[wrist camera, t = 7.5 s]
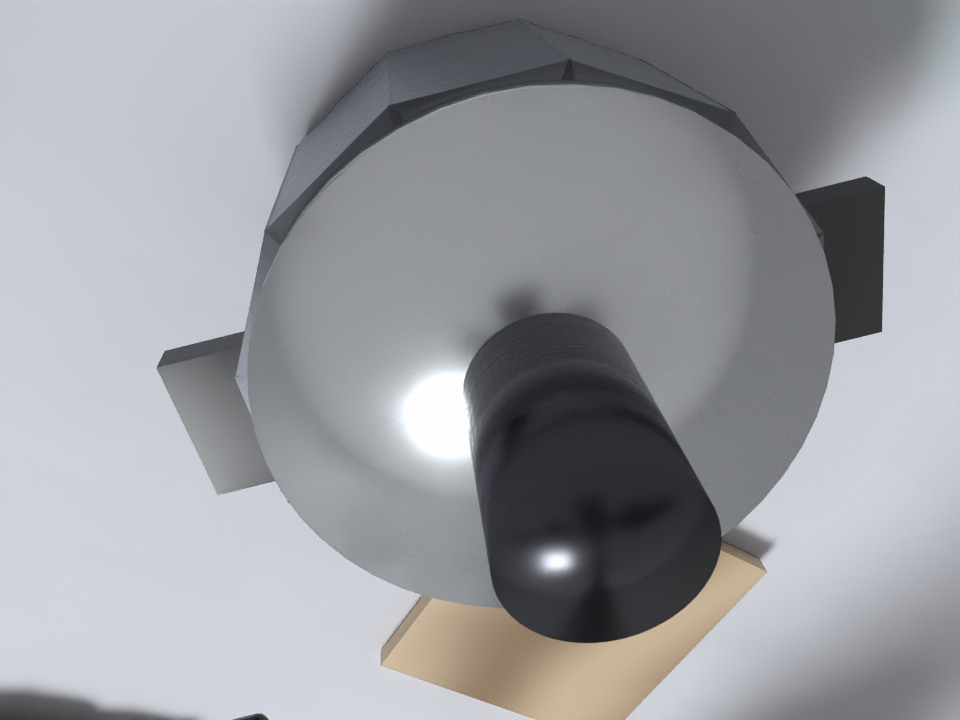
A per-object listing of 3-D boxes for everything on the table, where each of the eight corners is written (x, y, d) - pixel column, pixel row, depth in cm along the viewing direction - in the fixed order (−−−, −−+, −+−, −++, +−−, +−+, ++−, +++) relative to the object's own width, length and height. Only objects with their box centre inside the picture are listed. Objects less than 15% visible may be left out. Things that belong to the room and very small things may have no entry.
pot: (768, -47, 18) (926, -32, 13) (787, 373, 23) (903, 505, 18) (138, 113, 18) (40, 192, 13) (298, 493, 24) (274, 658, 18)
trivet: (759, 559, 27) (766, 572, 26) (598, 727, 30) (602, 742, 29) (533, 450, 24) (536, 462, 23) (380, 650, 27) (380, 665, 26)
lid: (906, 258, 16) (1159, 423, 11) (593, 615, 20) (668, 866, 15) (442, -66, 13) (485, -53, 8) (168, 442, 17) (67, 690, 11)
